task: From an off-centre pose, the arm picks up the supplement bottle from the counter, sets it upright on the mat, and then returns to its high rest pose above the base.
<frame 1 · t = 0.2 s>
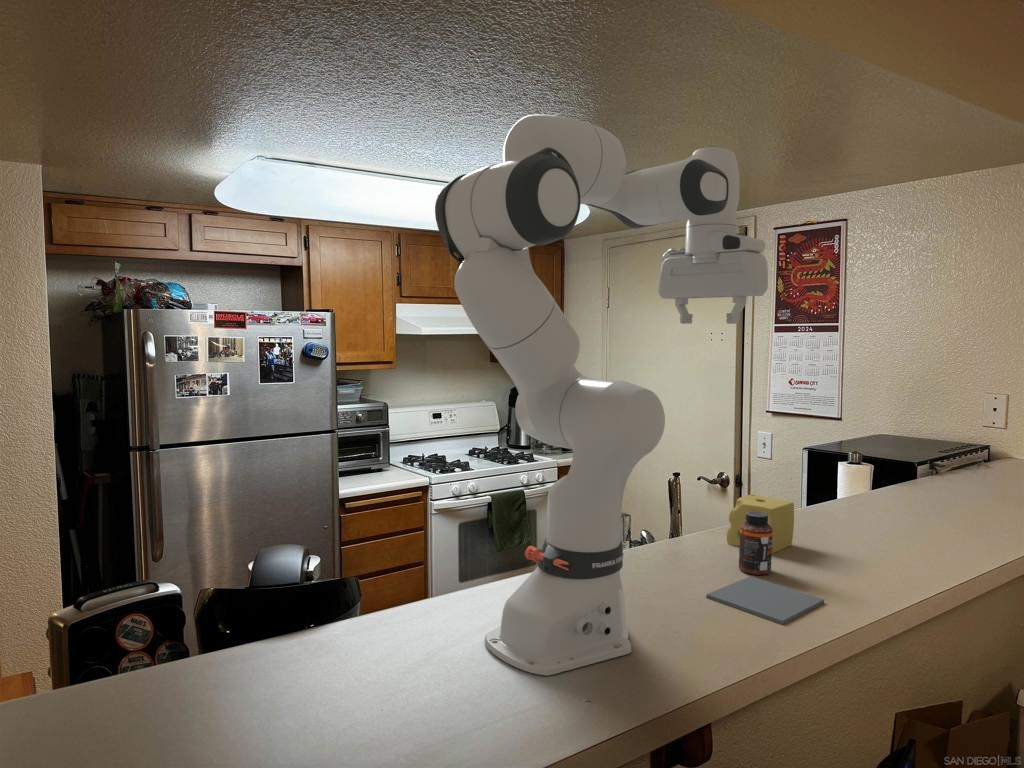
hand: (708, 323, 121), 48 cm above the countertop, fingers open, 8 cm apart
mat: (764, 600, 118), on the countertop
supplement bottle: (754, 571, 133), on the countertop
cheese: (760, 546, 149), on the countertop
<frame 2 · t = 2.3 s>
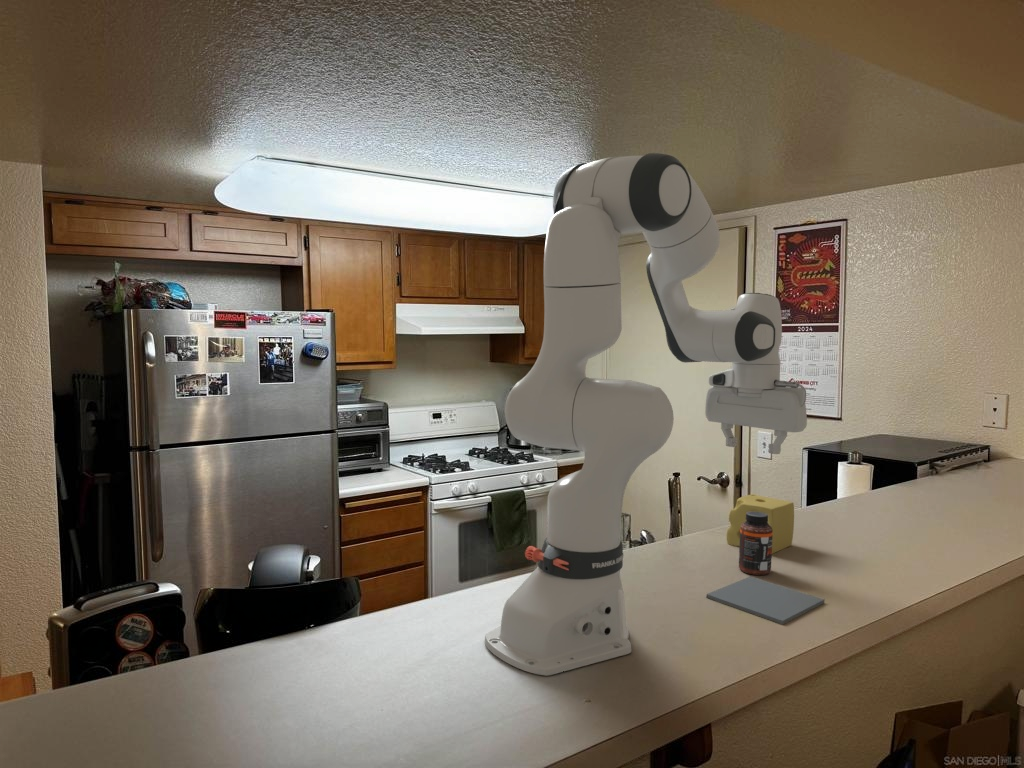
hand: (752, 449, 132), 23 cm above the countertop, fingers open, 8 cm apart
nothing on the countertop moved.
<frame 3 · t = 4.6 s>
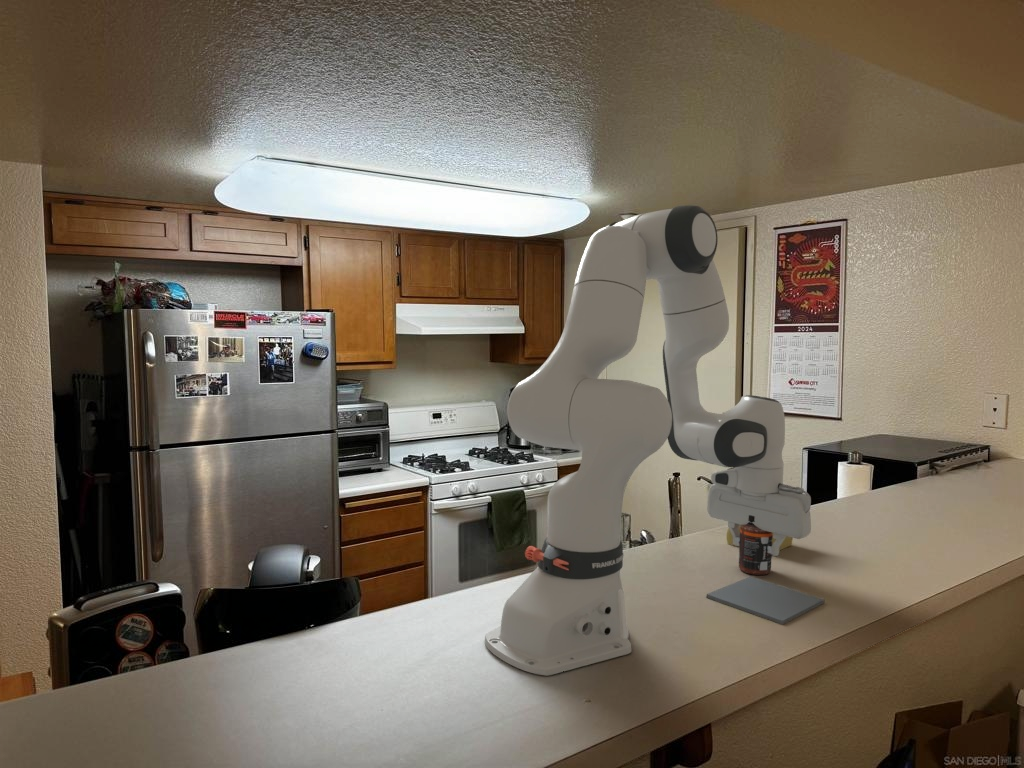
hand: (755, 549, 132), 4 cm above the countertop, fingers closed on supplement bottle, 6 cm apart
supplement bottle: (754, 571, 133), on the countertop, touching gripper
everything else where it was.
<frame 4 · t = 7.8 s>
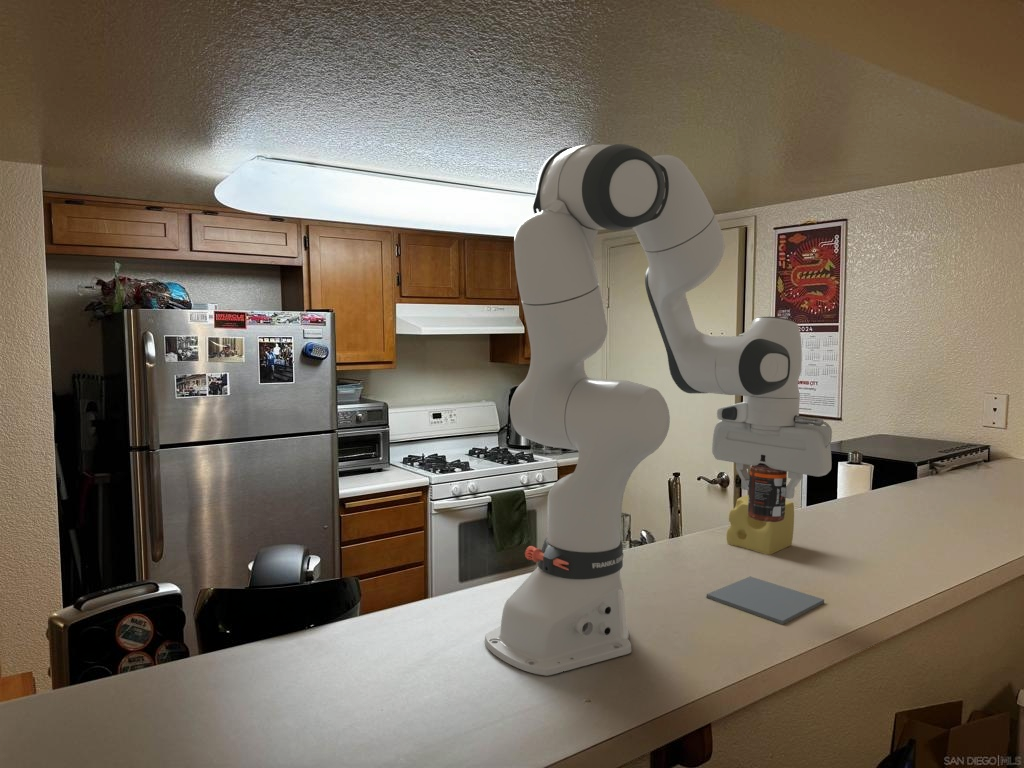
hand: (766, 493, 117), 19 cm above the countertop, fingers closed on supplement bottle, 6 cm apart
supplement bottle: (765, 519, 117), point 14 cm above the countertop, touching gripper
everything else where it was.
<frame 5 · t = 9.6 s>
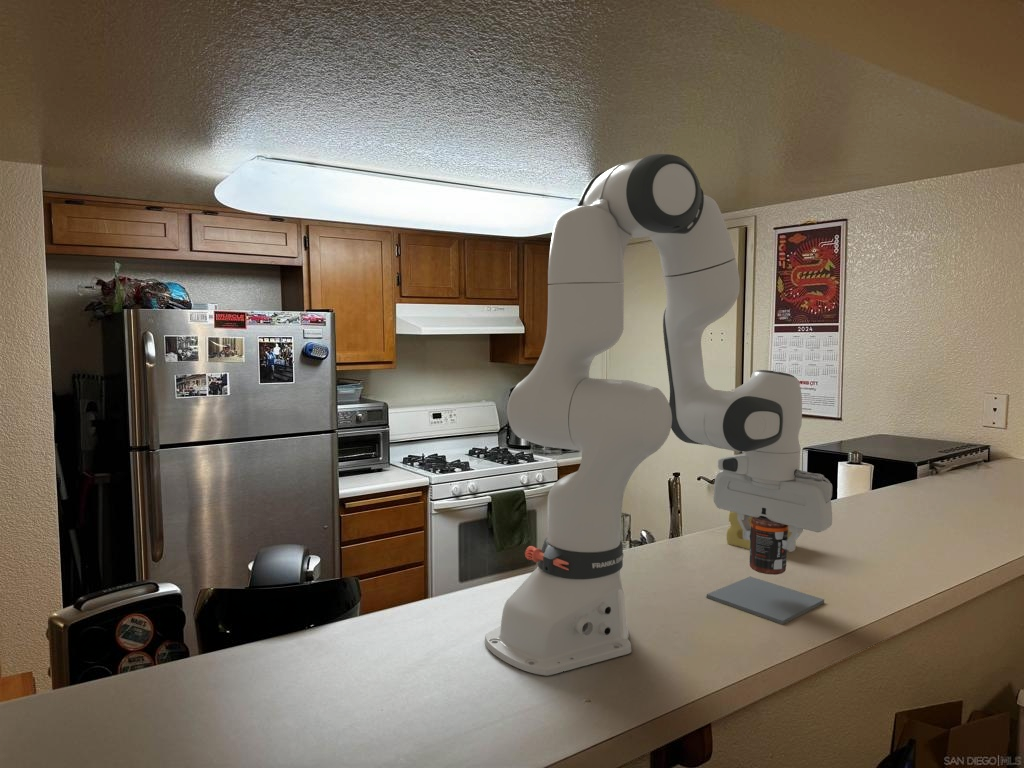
hand: (768, 544, 117), 10 cm above the countertop, fingers closed on supplement bottle, 6 cm apart
supplement bottle: (767, 570, 118), point 5 cm above the countertop, touching gripper
everything else where it was.
when the fingers open (6 cm above the countertop, at t = 10.8 s): supplement bottle stays where it is, resting on mat.
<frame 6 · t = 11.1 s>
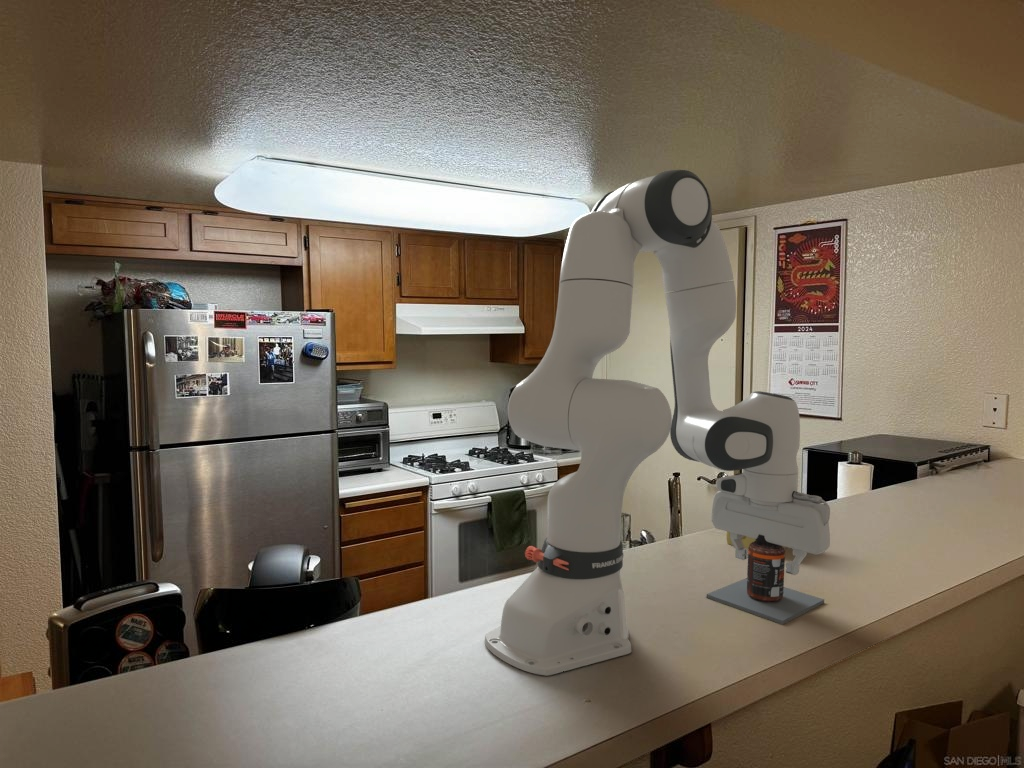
hand: (766, 565, 118), 6 cm above the countertop, fingers open, 8 cm apart
supplement bottle: (764, 597, 118), resting on mat
everything else where it was.
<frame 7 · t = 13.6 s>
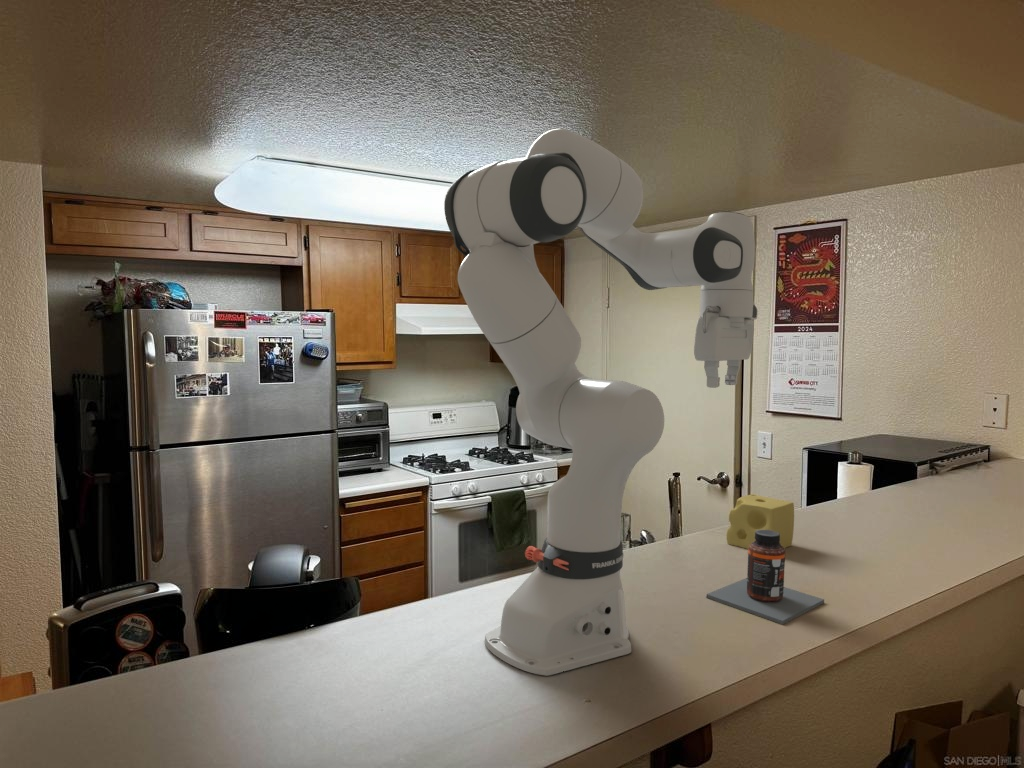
hand: (722, 386, 121), 37 cm above the countertop, fingers open, 8 cm apart
nothing on the countertop moved.
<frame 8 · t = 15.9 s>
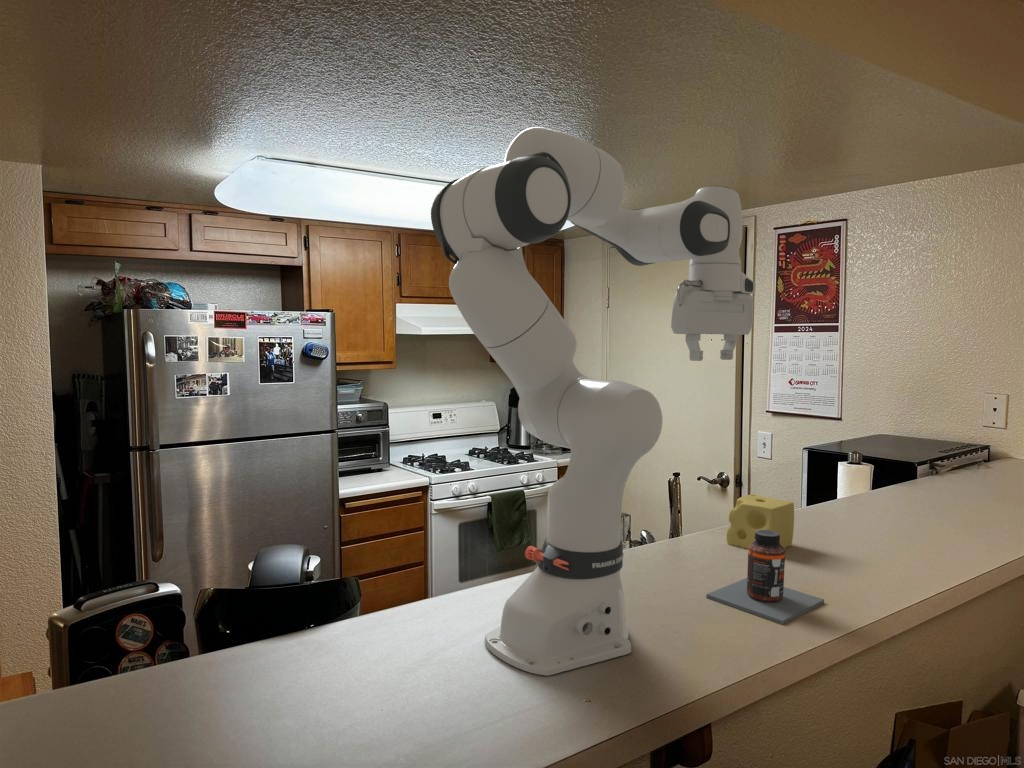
hand: (711, 360, 122), 41 cm above the countertop, fingers open, 8 cm apart
nothing on the countertop moved.
at the end: supplement bottle inside the target area on the mat (0.0 cm from its centre), point 0.4 cm above the mat's base; supplement bottle tilted 0°; the gripper is holding nothing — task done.
